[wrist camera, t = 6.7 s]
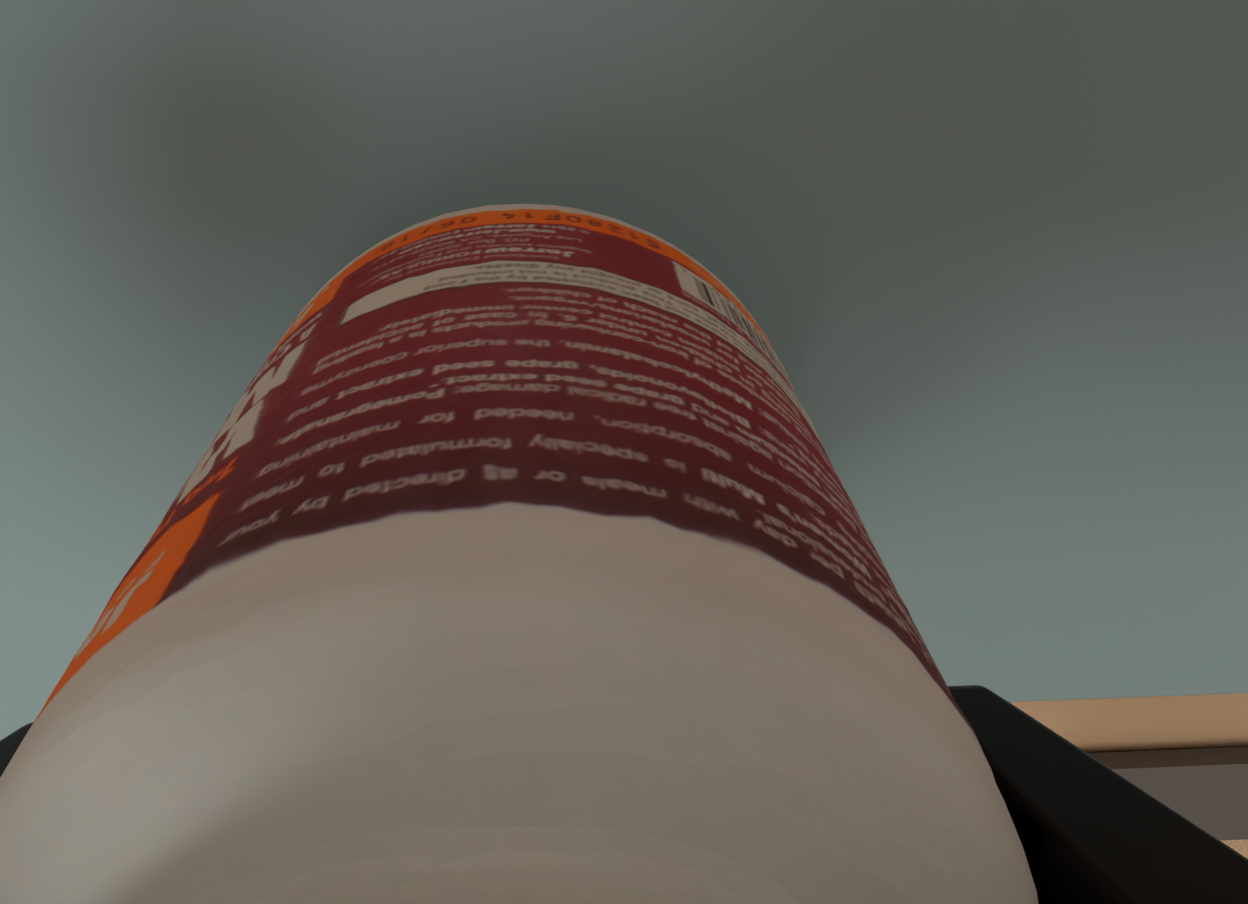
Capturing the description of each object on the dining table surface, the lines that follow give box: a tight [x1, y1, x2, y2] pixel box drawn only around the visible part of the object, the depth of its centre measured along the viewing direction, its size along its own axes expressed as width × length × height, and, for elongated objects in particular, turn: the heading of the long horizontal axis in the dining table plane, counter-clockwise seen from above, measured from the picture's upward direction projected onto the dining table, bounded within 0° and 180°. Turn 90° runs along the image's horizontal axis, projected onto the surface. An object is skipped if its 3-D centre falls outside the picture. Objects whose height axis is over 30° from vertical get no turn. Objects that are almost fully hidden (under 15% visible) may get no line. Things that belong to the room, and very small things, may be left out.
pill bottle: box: [0, 204, 1039, 904], centre depth 9 cm, size 6×6×11 cm
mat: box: [0, 0, 1248, 740], centre depth 15 cm, size 10×24×1 cm, turn 90°
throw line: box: [1087, 747, 1248, 840], centre depth 18 cm, size 2×24×1 cm, turn 91°
